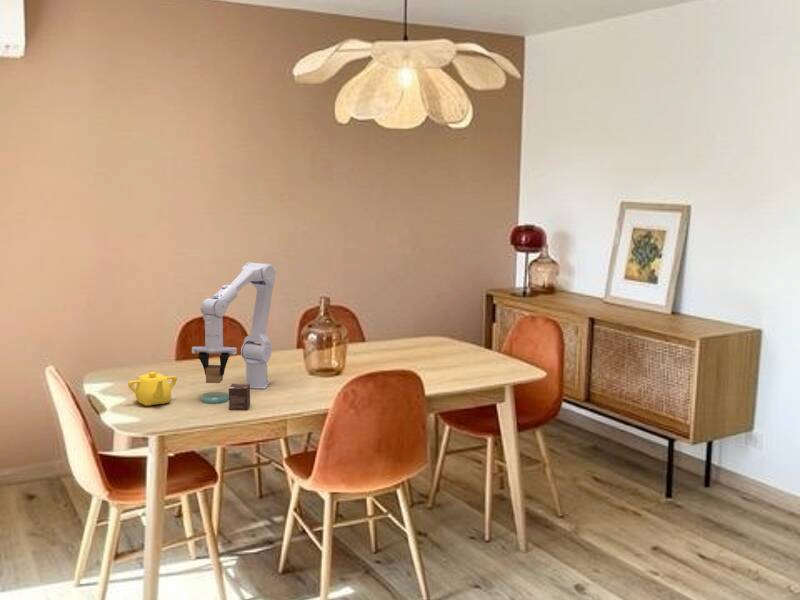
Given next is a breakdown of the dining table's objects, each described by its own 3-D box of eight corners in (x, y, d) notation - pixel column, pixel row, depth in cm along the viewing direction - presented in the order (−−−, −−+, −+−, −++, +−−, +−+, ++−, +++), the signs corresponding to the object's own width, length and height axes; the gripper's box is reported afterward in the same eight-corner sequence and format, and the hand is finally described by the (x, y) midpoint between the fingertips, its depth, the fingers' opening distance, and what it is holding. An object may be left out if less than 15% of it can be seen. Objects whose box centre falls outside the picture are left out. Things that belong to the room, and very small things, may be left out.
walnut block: (209, 379, 275) (209, 364, 274) (222, 379, 275) (222, 365, 274) (206, 382, 270) (205, 368, 270) (219, 383, 270) (219, 368, 269)
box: (250, 405, 269) (250, 383, 268) (247, 410, 263) (247, 388, 262) (231, 405, 269) (231, 383, 268) (228, 410, 263) (228, 388, 262)
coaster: (205, 397, 279) (205, 391, 278) (231, 397, 278) (231, 392, 278) (198, 404, 270) (198, 398, 269) (225, 405, 270) (225, 399, 269)
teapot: (183, 399, 274) (182, 369, 273) (162, 410, 262) (161, 378, 260) (147, 396, 278) (146, 366, 276) (125, 406, 266) (123, 375, 264)
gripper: (188, 336, 267) (189, 377, 269) (233, 337, 266) (233, 378, 268) (194, 332, 274) (195, 371, 276) (237, 333, 273) (238, 372, 275)
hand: (214, 374), depth 273 cm, fingers closed on walnut block, 4 cm apart
